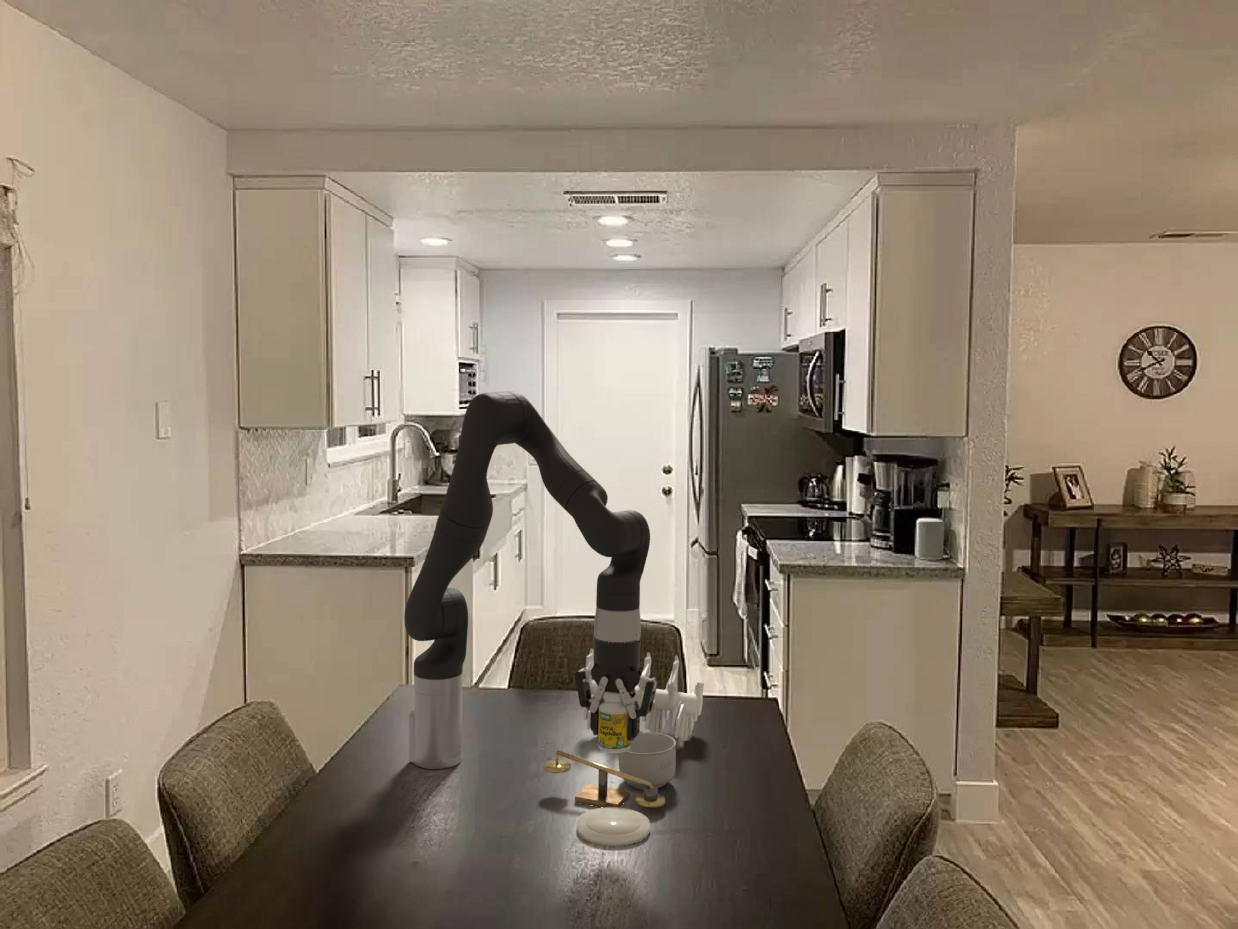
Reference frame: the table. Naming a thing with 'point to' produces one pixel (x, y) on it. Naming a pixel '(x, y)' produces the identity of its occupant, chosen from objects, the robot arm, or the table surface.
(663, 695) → the spiral staircase
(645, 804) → the balance
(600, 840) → the plate
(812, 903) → the table surface
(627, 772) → the teacup
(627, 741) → the supplement bottle
